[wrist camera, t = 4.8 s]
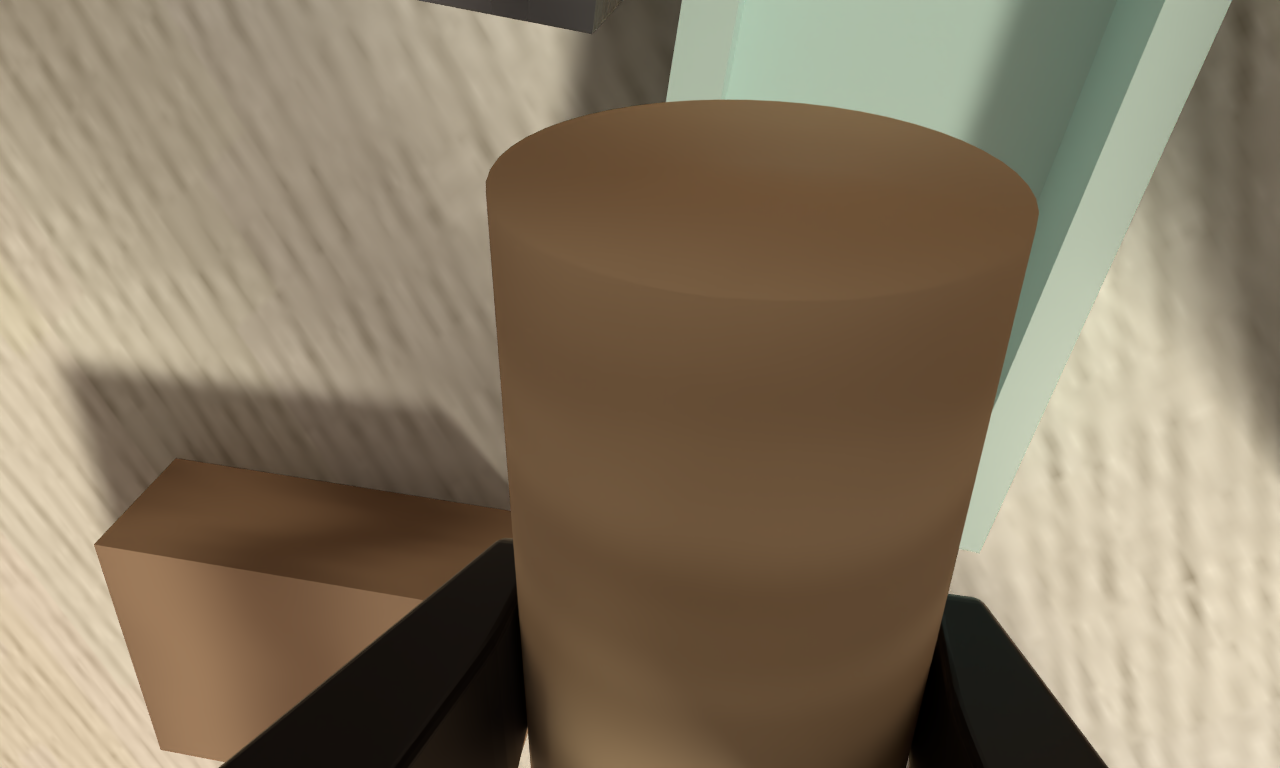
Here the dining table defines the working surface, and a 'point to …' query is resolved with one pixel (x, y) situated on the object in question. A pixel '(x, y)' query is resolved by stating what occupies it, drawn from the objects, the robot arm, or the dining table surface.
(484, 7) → the rail
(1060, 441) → the dining table surface
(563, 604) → the roller
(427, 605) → the robot arm
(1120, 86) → the cradle
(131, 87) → the dining table surface
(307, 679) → the slab
